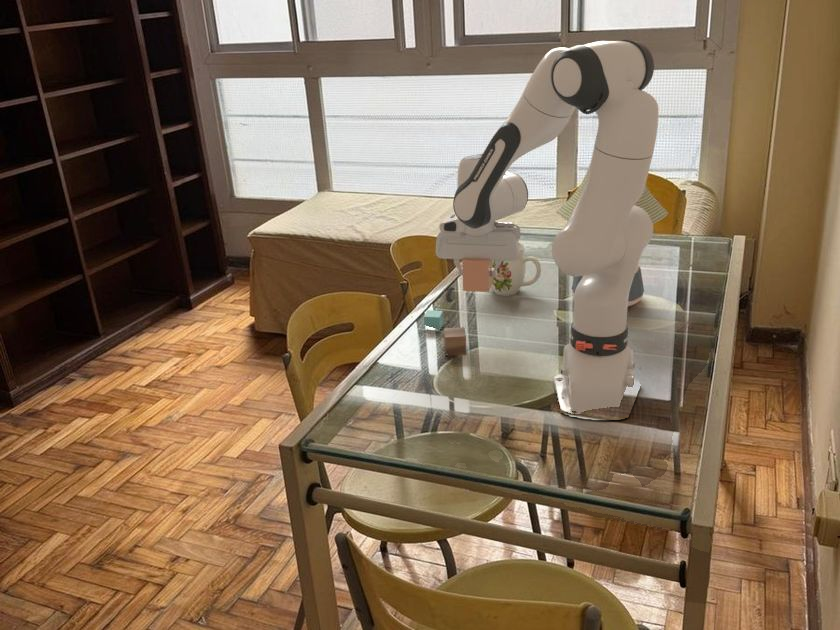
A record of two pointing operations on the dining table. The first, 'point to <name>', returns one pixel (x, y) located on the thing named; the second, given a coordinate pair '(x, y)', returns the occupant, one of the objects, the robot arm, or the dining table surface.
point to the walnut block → (455, 341)
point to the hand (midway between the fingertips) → (477, 275)
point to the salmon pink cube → (477, 274)
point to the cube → (434, 319)
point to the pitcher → (513, 274)
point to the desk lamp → (644, 202)
